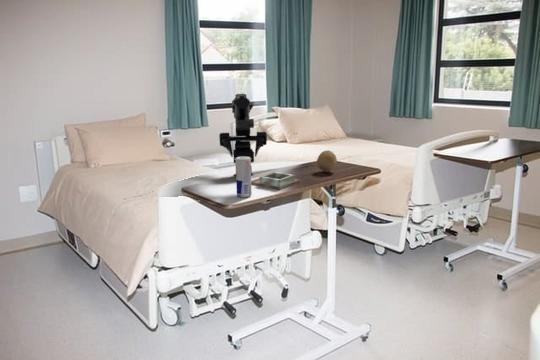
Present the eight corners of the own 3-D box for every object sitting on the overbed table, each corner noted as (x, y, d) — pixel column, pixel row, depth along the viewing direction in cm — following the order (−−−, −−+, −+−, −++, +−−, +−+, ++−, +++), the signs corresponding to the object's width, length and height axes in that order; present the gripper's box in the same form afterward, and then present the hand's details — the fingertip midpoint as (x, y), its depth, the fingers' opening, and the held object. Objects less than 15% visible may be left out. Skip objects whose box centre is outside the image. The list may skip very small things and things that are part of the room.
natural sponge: (340, 173, 218) (341, 151, 216) (324, 175, 215) (324, 153, 212) (330, 169, 226) (330, 148, 224) (313, 171, 223) (313, 149, 220)
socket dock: (248, 183, 202) (248, 175, 201) (268, 177, 213) (268, 168, 212) (280, 189, 193) (280, 180, 192) (299, 182, 204) (299, 173, 203)
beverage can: (251, 193, 187) (250, 155, 183) (251, 198, 181) (250, 158, 178) (237, 194, 187) (235, 156, 183) (236, 198, 181) (235, 159, 178)
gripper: (218, 112, 189) (218, 144, 181) (266, 111, 190) (268, 143, 182) (219, 129, 199) (220, 161, 190) (265, 128, 200) (267, 160, 192)
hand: (243, 156), depth 188 cm, fingers open, 9 cm apart
